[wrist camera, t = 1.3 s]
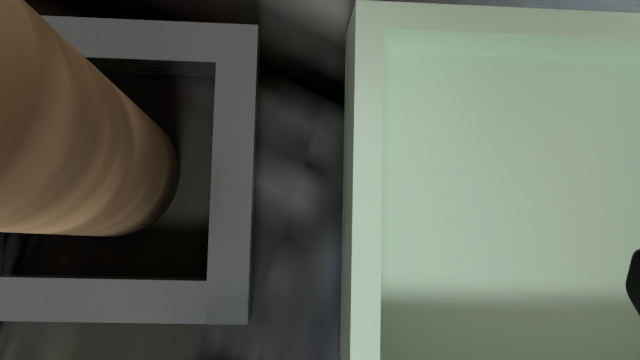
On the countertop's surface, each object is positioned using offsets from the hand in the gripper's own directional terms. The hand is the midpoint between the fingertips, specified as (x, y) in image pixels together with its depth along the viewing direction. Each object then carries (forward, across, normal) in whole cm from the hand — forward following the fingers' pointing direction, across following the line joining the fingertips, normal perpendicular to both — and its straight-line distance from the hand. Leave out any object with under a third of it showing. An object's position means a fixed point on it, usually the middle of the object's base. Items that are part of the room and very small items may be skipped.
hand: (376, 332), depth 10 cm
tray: (+11, -8, +8) cm, 16 cm away
